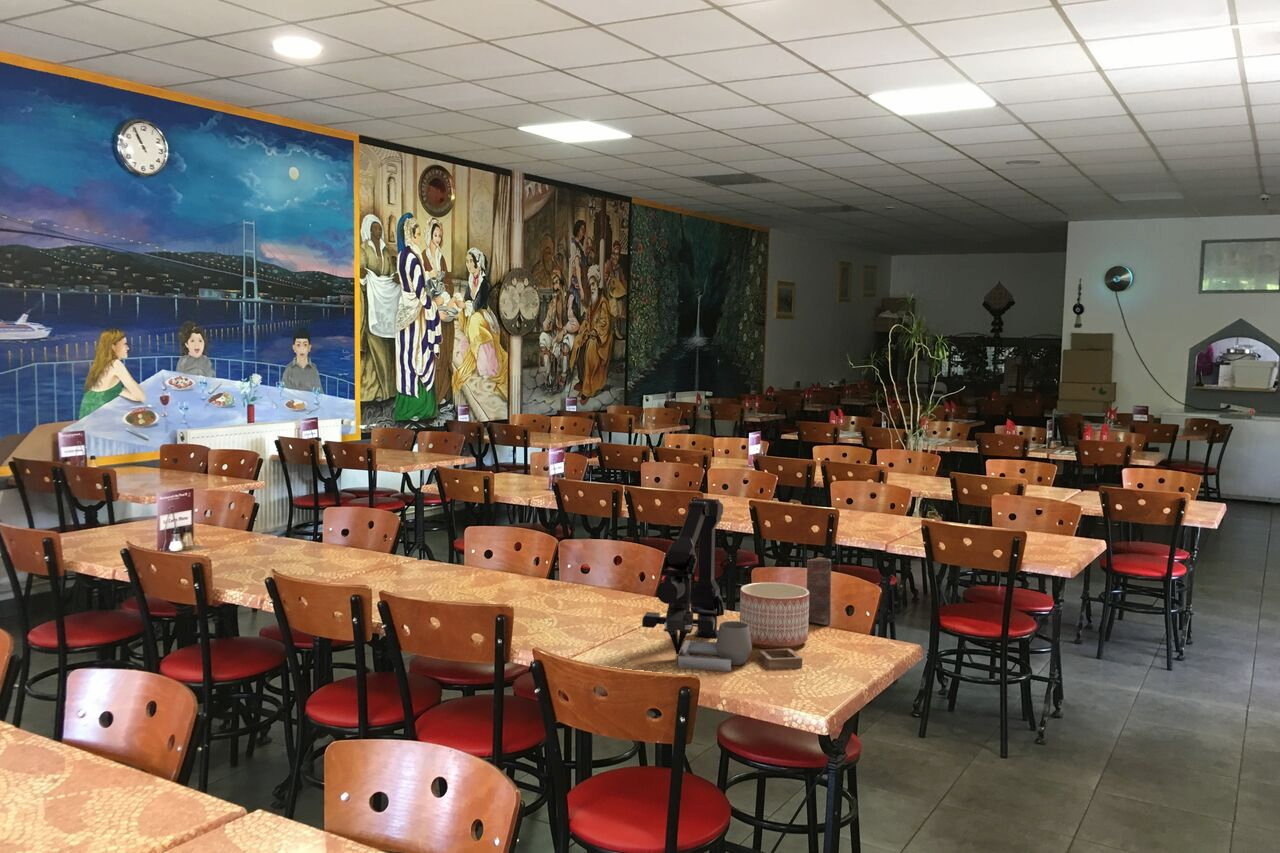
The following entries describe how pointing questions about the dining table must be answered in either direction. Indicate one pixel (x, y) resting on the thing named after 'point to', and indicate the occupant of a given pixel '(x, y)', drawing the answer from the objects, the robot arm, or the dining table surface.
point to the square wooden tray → (779, 658)
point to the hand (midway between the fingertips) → (677, 653)
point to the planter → (775, 614)
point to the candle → (819, 590)
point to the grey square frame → (702, 657)
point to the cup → (734, 641)
